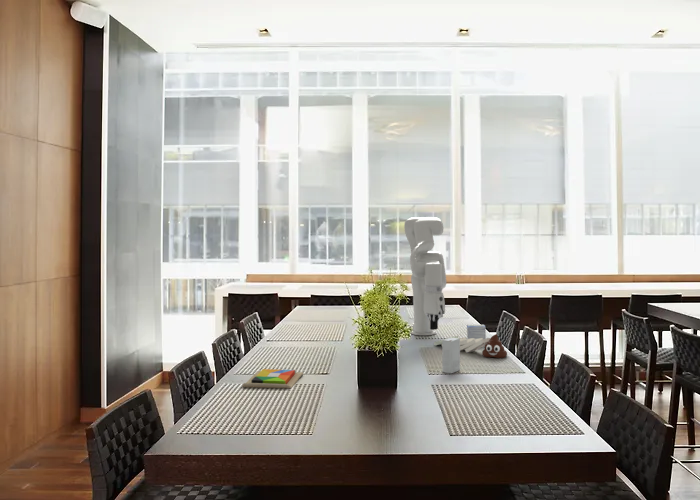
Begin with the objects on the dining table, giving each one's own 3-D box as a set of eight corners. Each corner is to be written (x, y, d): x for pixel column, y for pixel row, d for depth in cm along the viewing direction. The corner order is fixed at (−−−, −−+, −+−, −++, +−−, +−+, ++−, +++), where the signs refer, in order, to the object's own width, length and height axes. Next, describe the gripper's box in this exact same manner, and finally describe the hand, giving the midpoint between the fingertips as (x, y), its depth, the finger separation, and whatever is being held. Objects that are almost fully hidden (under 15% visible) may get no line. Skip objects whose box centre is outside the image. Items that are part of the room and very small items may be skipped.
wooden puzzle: (241, 389, 202) (240, 379, 202) (259, 375, 221) (258, 366, 221) (290, 390, 199) (289, 380, 199) (304, 376, 218) (304, 367, 218)
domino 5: (464, 349, 250) (481, 339, 242) (473, 347, 253) (489, 337, 245) (466, 352, 249) (483, 343, 241) (474, 351, 252) (491, 341, 244)
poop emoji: (508, 355, 243) (508, 332, 243) (505, 359, 235) (504, 336, 235) (484, 353, 247) (484, 331, 247) (480, 358, 239) (479, 335, 239)
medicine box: (484, 343, 269) (484, 324, 268) (486, 345, 264) (485, 326, 264) (467, 343, 269) (466, 324, 269) (468, 345, 265) (467, 326, 265)
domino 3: (449, 345, 258) (466, 339, 249) (457, 344, 261) (474, 337, 252) (450, 349, 257) (467, 342, 249) (458, 347, 260) (475, 341, 252)
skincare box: (450, 368, 222) (449, 337, 221) (460, 370, 219) (460, 338, 218) (441, 372, 217) (441, 339, 217) (452, 374, 214) (451, 340, 214)
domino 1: (433, 342, 266) (449, 337, 257) (441, 340, 269) (458, 335, 260) (434, 345, 266) (450, 340, 257) (442, 344, 269) (458, 339, 260)
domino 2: (441, 344, 262) (457, 338, 253) (449, 342, 265) (466, 336, 256) (442, 347, 261) (458, 342, 253) (450, 346, 264) (467, 340, 256)
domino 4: (457, 347, 254) (474, 339, 245) (465, 346, 256) (482, 337, 248) (458, 351, 253) (475, 343, 245) (466, 349, 256) (483, 341, 248)
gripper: (451, 290, 265) (451, 330, 266) (428, 287, 277) (428, 326, 278) (438, 291, 260) (439, 332, 261) (416, 288, 272) (416, 328, 273)
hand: (434, 329), depth 270 cm, fingers closed
